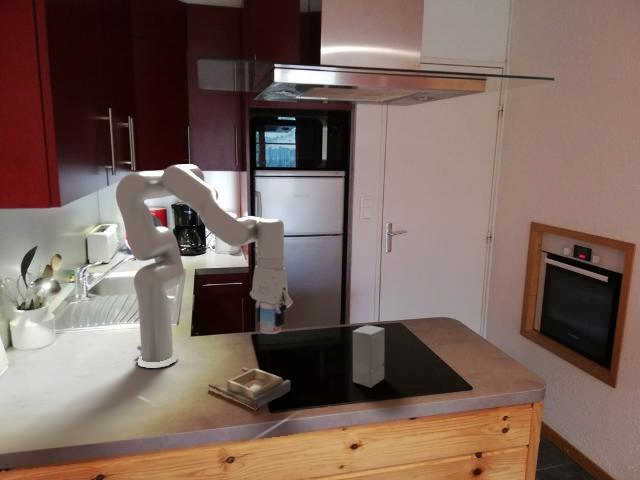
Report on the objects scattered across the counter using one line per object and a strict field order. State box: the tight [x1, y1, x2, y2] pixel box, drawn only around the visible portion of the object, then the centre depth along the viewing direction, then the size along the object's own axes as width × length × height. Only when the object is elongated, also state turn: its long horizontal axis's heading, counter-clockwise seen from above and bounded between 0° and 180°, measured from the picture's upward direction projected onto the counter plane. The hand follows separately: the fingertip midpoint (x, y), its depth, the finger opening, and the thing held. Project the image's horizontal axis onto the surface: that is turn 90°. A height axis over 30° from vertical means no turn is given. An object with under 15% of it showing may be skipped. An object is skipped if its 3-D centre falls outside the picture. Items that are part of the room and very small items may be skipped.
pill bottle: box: [259, 302, 282, 335], centre depth 147 cm, size 6×6×11 cm
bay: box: [207, 366, 291, 409], centre depth 142 cm, size 18×14×4 cm
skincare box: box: [352, 324, 386, 389], centre depth 149 cm, size 8×7×16 cm
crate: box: [227, 367, 283, 399], centre depth 140 cm, size 11×11×4 cm
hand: (270, 322), depth 148 cm, fingers closed on pill bottle, 6 cm apart
